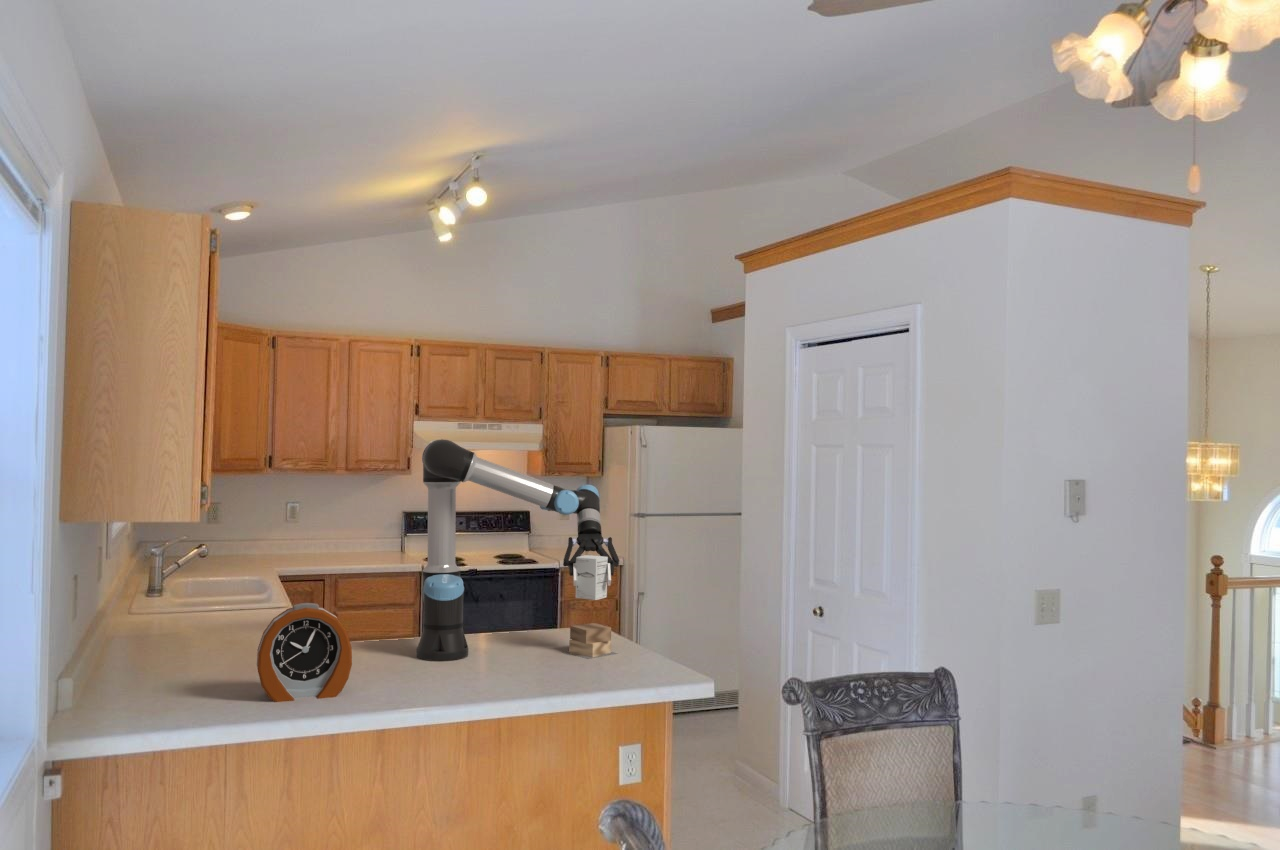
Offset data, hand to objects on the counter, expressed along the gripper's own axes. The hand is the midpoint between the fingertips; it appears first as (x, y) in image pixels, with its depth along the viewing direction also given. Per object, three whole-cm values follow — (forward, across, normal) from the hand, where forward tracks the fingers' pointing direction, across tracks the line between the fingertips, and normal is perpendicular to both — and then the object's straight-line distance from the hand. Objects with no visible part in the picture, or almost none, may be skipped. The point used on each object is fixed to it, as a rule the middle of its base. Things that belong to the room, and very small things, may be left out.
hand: (592, 583), depth 291 cm
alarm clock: (+44, +75, +13) cm, 88 cm away
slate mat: (+13, 0, -18) cm, 22 cm away
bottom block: (+13, 0, -17) cm, 22 cm away
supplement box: (+1, 0, -6) cm, 6 cm away
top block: (+10, 0, -15) cm, 18 cm away
